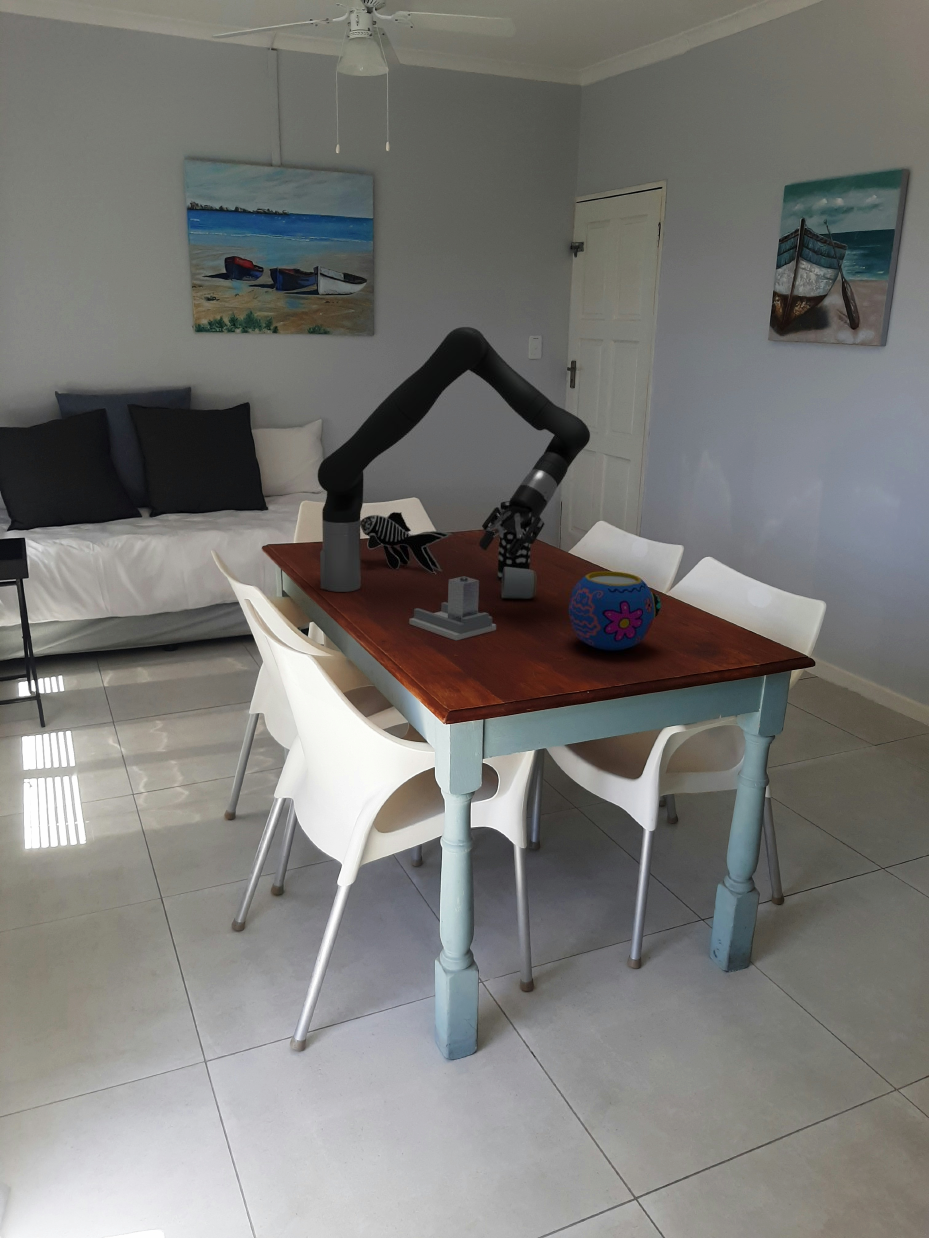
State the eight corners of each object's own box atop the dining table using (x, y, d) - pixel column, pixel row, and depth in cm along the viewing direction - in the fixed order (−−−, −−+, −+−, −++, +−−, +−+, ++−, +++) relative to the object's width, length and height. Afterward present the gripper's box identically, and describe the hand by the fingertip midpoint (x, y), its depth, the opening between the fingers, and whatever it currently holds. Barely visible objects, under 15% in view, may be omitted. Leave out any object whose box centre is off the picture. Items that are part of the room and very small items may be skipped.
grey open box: (409, 624, 214) (409, 605, 213) (449, 614, 222) (449, 596, 221) (456, 640, 203) (456, 621, 202) (496, 629, 211) (496, 611, 210)
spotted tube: (492, 580, 253) (496, 504, 247) (503, 573, 260) (506, 500, 255) (523, 584, 250) (526, 507, 244) (533, 577, 257) (537, 503, 252)
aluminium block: (447, 624, 210) (448, 577, 207) (462, 620, 214) (464, 574, 211) (462, 629, 207) (463, 581, 204) (477, 625, 210) (479, 578, 207)
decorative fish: (369, 545, 275) (379, 494, 270) (450, 576, 267) (462, 524, 261) (339, 555, 262) (349, 502, 256) (424, 588, 253) (436, 534, 248)
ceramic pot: (669, 652, 200) (676, 582, 196) (602, 665, 191) (608, 592, 187) (613, 630, 214) (619, 564, 210) (549, 641, 205) (553, 572, 201)
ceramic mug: (536, 602, 234) (538, 571, 232) (502, 601, 234) (504, 570, 232) (531, 591, 244) (533, 561, 242) (499, 591, 244) (500, 561, 242)
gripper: (503, 479, 219) (464, 535, 214) (550, 488, 209) (511, 547, 205) (518, 500, 224) (481, 555, 220) (564, 510, 214) (527, 567, 210)
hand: (495, 551), depth 212 cm, fingers open, 8 cm apart
